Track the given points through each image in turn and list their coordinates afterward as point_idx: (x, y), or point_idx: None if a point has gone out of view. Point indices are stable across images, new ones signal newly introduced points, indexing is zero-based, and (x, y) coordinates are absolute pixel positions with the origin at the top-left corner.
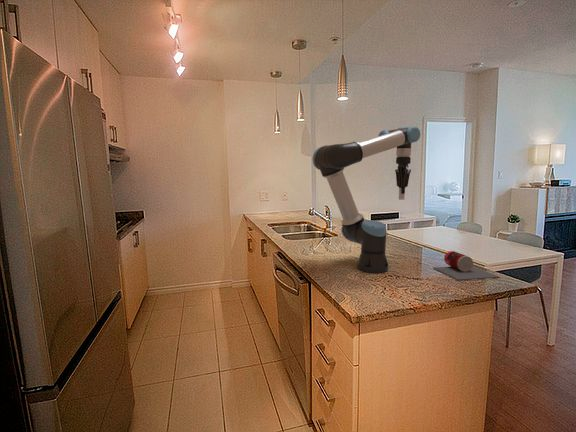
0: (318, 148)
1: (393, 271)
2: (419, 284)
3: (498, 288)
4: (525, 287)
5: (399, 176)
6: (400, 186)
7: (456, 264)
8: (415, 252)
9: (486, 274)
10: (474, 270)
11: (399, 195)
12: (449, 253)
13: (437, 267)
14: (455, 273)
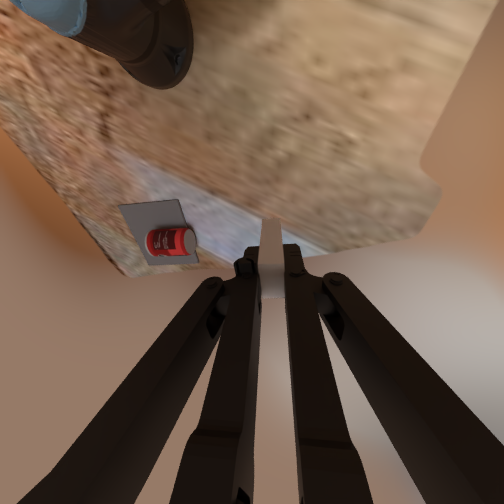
0: None
1: (141, 97)
2: (71, 123)
3: (103, 238)
4: (120, 267)
5: (312, 407)
6: (284, 283)
7: (153, 230)
8: (296, 223)
9: (155, 256)
10: None
11: (269, 230)
12: (175, 239)
13: (179, 207)
14: (149, 218)
